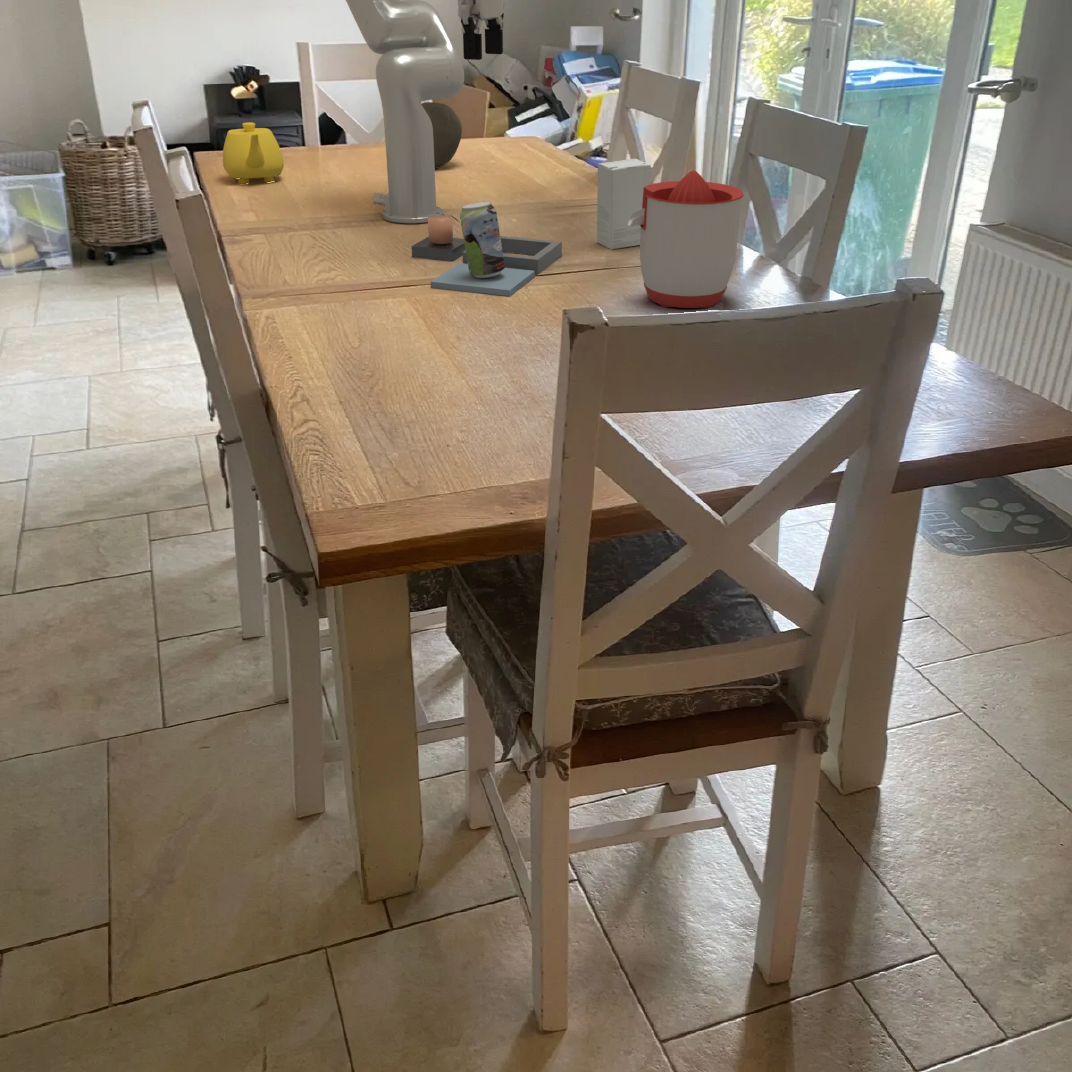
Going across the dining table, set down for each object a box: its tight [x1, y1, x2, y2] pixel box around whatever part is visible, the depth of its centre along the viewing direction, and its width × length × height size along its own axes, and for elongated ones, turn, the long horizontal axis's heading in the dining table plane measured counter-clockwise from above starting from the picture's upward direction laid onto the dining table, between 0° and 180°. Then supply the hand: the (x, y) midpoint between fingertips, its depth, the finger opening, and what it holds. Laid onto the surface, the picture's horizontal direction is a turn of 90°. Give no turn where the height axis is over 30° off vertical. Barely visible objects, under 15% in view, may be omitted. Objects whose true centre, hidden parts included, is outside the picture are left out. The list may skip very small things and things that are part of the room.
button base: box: [411, 236, 465, 262], centre depth 195 cm, size 8×8×2 cm
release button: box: [427, 214, 454, 244], centre depth 193 cm, size 4×4×4 cm
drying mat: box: [430, 262, 536, 297], centre depth 180 cm, size 14×12×1 cm
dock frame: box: [461, 235, 563, 275], centre depth 191 cm, size 14×13×2 cm
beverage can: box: [459, 200, 505, 278], centre depth 176 cm, size 6×7×12 cm
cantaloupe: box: [421, 101, 463, 169], centre depth 262 cm, size 14×14×15 cm
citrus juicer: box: [628, 169, 744, 309], centre depth 167 cm, size 16×17×20 cm
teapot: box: [222, 121, 285, 185], centre depth 247 cm, size 14×20×13 cm
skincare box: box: [596, 158, 652, 250], centre depth 198 cm, size 8×6×15 cm
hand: (483, 56), depth 186 cm, fingers open, 9 cm apart
